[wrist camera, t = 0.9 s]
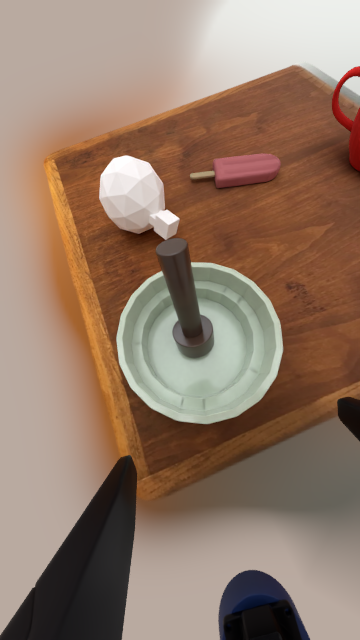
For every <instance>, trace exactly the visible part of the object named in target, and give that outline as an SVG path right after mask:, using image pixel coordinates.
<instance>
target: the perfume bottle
mask: <svg viewBox="0 0 360 640" xmlns="http://www.w3.org/2000/svg"><path fill="white" fill-rule="evenodd" d="M99 199H100V201H101V203H102V205H103V207H104V210H105V212H106V213H107V215H108V216H109V218H110V219H111V220H112V221H113V222H114V223H115V224H116V225H117V226H118V227H119V228H120V229H123V230H127V231H130V232H134V233H137V234H140V233H142V232H144V231H147V230H149V229H151V228H153V227H154V231H155V232H156V233H158V234H159V235H160V236H161V237H163V238H164V239H165V240H167V239H168V238H170V237H172V236H173V235H175V234H176V232H177V228H178V224H179V220H180V219H179V218H178V217H177V216H175V215H174V214H172V213H171V212H170V211H168V210H165V211H164V209H165V200H164V188H163V183H162V181H161V180H160V178H159V177H158V176H157V174H156V173H155V171H154V170H153V168H152V167H151V165H150V164H149V163H148V162H145V161H142V160H139V159H136V158H133V157H130V156H122V157H118V158H114V159H113V160H112V161H111V162H110V164H109V165H108V166H107V168H106V169H105V170H104V172H103V173H102V175H101V179H100V196H99Z"/></svg>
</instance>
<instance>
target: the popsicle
mask: <svg viewBox="0 0 360 640" xmlns="http://www.w3.org/2000/svg"><path fill="white" fill-rule="evenodd" d="M280 164H281V163H280V160H279V159H278V158H277V157H276V156H274V155H271V154H255V155H245V156H236V157H228V158H219V159H214V161H213V171H208V172H199V173H192V174H190V178H191V179H201V178H209V177H214V178H215V183H216V187H217V188H223V187H231V186H240V185H247V184H254V183H261V182H267V181H270V180H272V179H274V177H275V176H276V175H277V174H278V171H279V169H280Z"/></svg>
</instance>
